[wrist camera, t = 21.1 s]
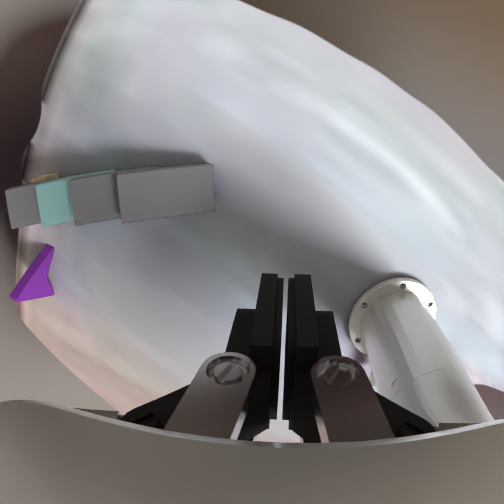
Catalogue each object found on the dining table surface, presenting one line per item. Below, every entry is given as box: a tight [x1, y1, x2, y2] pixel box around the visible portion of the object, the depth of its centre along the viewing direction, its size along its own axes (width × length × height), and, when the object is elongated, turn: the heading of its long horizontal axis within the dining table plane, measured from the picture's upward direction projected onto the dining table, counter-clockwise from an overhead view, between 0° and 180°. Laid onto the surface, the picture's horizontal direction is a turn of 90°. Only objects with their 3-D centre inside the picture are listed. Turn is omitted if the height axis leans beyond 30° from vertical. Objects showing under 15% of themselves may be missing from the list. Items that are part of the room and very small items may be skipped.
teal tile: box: [36, 169, 115, 227], centre depth 33 cm, size 3×5×10 cm
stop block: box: [31, 173, 59, 183], centre depth 36 cm, size 6×3×3 cm, turn 1°
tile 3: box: [117, 163, 215, 223], centre depth 32 cm, size 3×5×10 cm
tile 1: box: [5, 174, 77, 229], centre depth 33 cm, size 3×5×10 cm
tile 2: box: [69, 166, 157, 226], centre depth 33 cm, size 3×5×10 cm
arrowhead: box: [10, 244, 54, 302], centre depth 40 cm, size 10×2×10 cm
